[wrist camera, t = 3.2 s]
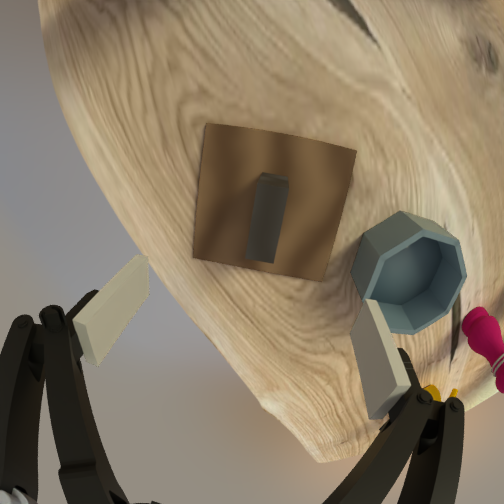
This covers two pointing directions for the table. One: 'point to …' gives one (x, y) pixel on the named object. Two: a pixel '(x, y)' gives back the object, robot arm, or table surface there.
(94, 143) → the table surface
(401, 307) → the bowl
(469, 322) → the pepper mill
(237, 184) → the lid
